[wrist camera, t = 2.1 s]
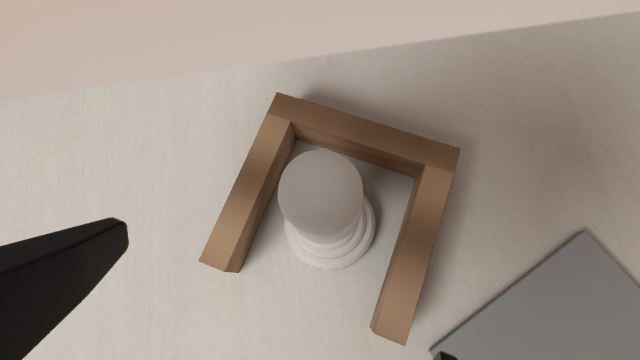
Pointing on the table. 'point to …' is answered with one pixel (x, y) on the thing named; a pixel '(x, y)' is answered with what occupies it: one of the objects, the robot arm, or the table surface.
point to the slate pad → (557, 312)
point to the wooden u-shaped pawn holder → (361, 143)
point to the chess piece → (325, 210)
